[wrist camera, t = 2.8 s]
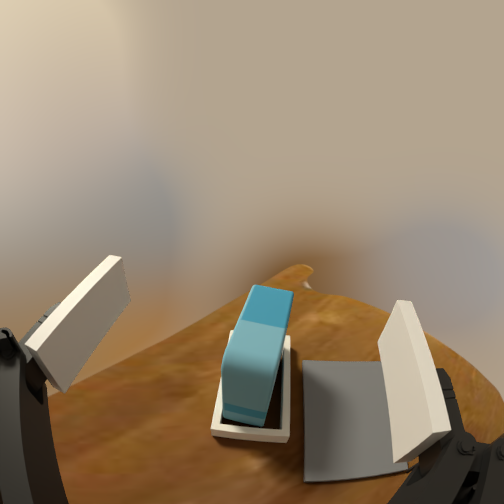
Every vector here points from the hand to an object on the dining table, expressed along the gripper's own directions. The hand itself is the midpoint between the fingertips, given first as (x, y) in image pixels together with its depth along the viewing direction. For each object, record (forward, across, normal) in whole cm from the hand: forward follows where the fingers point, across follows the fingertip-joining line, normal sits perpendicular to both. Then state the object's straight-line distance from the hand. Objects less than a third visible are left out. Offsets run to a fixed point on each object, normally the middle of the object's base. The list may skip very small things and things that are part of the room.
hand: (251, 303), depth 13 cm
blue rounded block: (+10, 0, -22) cm, 24 cm away
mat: (+7, +12, -22) cm, 26 cm away
